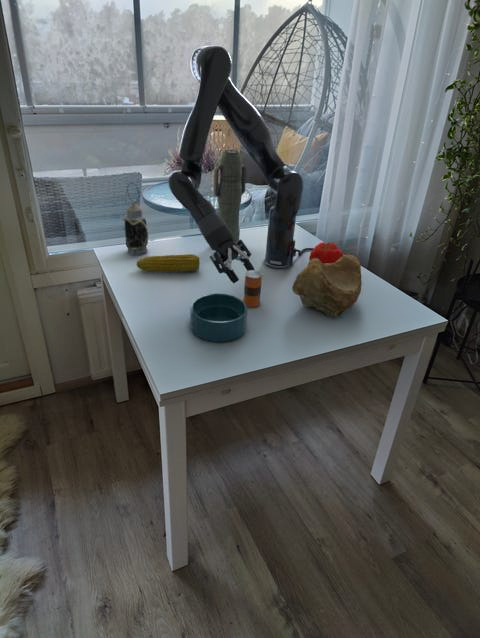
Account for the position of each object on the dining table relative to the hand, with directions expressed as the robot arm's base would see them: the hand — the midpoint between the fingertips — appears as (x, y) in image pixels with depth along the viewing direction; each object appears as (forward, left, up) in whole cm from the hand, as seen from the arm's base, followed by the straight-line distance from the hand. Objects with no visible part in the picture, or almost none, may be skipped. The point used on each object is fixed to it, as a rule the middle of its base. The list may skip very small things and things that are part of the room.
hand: (244, 276), depth 132 cm
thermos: (-6, -42, -8) cm, 43 cm away
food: (+19, -24, -8) cm, 31 cm away
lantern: (+28, -42, -8) cm, 51 cm away
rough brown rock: (-25, +9, -8) cm, 28 cm away
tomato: (-35, -16, -8) cm, 39 cm away
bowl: (+11, +13, -8) cm, 19 cm away
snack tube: (-2, +2, -8) cm, 9 cm away
